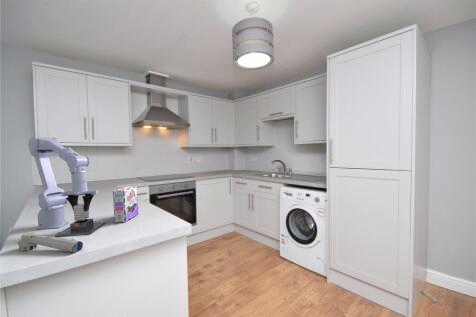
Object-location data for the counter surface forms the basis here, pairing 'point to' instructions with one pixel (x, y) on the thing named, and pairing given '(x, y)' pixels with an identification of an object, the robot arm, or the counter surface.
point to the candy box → (125, 204)
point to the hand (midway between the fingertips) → (81, 210)
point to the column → (80, 212)
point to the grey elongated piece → (48, 242)
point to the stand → (81, 228)
